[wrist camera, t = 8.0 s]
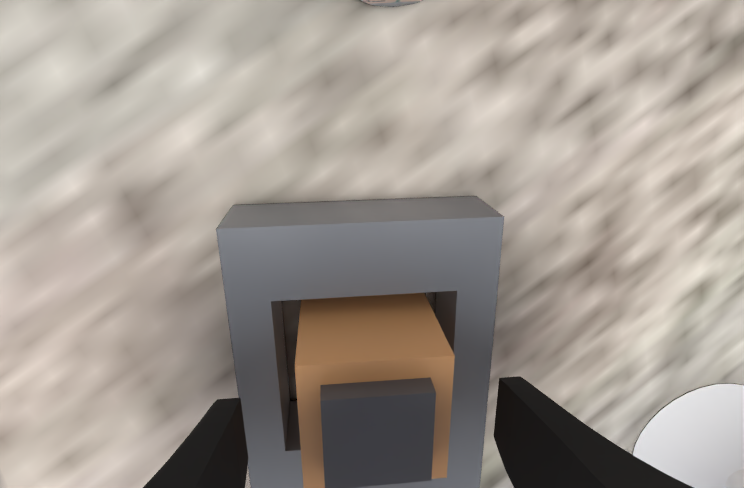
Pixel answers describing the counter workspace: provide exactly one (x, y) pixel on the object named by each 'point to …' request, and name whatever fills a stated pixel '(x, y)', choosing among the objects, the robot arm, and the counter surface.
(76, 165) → the counter surface
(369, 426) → the orange plug
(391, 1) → the beer can
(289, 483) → the socket strip
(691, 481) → the champagne flute
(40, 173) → the counter surface
